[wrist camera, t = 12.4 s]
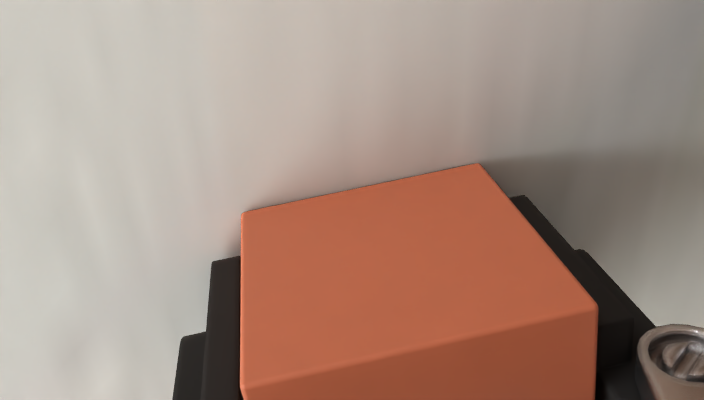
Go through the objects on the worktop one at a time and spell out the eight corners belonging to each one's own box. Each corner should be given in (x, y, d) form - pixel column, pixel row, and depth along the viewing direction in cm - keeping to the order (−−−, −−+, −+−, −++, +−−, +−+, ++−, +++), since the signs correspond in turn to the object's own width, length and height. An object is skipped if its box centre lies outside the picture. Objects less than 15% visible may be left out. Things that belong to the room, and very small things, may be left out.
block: (479, 160, 12) (601, 305, 8) (491, 346, 14) (592, 533, 10) (239, 211, 11) (238, 387, 7) (289, 392, 13) (309, 605, 10)
